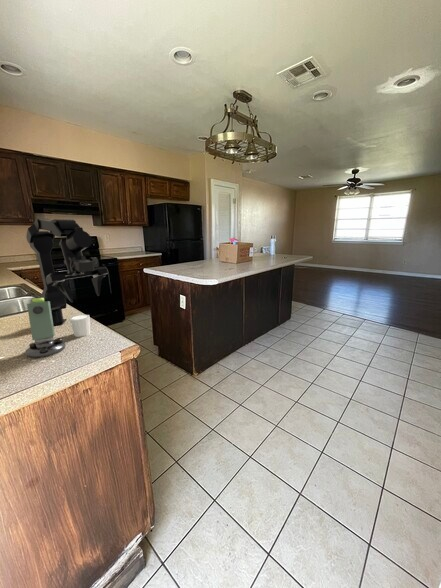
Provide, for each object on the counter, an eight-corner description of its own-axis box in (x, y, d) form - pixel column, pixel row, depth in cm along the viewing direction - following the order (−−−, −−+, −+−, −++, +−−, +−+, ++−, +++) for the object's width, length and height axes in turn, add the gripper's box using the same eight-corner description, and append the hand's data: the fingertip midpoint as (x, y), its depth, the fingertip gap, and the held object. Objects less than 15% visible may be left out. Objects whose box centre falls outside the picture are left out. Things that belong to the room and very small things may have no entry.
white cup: (68, 335, 96) (65, 318, 94) (85, 329, 102) (82, 313, 100) (79, 338, 93) (76, 321, 91) (96, 332, 99) (93, 315, 97)
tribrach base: (29, 347, 86) (28, 339, 86) (66, 340, 91) (65, 333, 90) (22, 361, 77) (20, 352, 76) (64, 353, 82) (62, 344, 81)
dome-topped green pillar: (35, 342, 84) (29, 299, 83) (55, 339, 86) (49, 297, 86) (31, 345, 78) (24, 299, 78) (52, 341, 81) (45, 297, 81)
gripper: (50, 251, 73) (65, 302, 74) (109, 247, 88) (121, 290, 89) (39, 260, 80) (53, 306, 81) (95, 255, 95) (107, 294, 96)
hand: (85, 298), depth 87 cm, fingers open, 9 cm apart
